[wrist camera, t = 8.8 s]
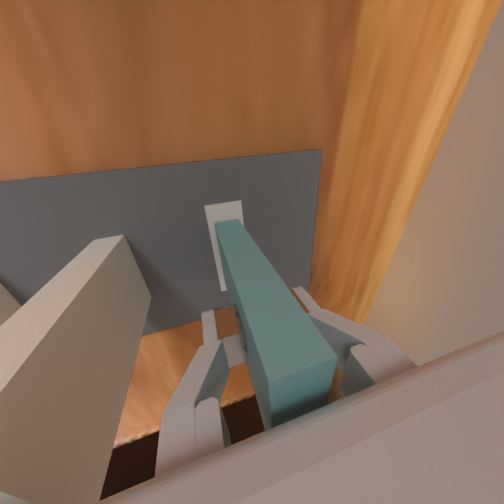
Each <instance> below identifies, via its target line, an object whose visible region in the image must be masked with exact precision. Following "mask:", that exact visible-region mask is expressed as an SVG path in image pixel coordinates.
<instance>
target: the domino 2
mask: <svg viewBox="0 0 504 504" xmlns="http://www.w3.org/2000/svg"><path fill="white" fill-rule="evenodd" d="M214 226H215V231H216V236H217V242H218V247H219V253H220V258H221V263H222V269H223V274H224V279H225V284H226V288H227V292H228V296H229V299H230V303H231V304H235V303H236V305H237V308H238V312H239V317H240V318H241V321H242V324H243V327H244V331H245V336H246V342H247V344H246V347H247V350H248V357H249V361H248V362H247V365H248V369H249V373H250V377H251V380H252V384H253V388H254V391H255V395H256V399H257V402H258V406H259V409H260V413H261V417H262V421H263V424H264V428H265V431H266V430H269V429H271V428H273V427H276V426H278V425H281V424H283V423H285V422H288V421H290V420H292V419H295V418H297V417H299V416H302V415H304V414H307V413H309V412H311V411H314V410H316V409H318V408H321V407H323V406H326V405H327V400H328V396H329V391H330V388H331V383H332V379H333V375H334V371H335V366H336V362H337V358H338V356H337V355H336V354H335V352H334V351H333V349H332V348H331V347H330V345H329V344H328V342H327V341H326V340H325V338H324V337H323V336H322V334H321V333H320V331H319V330H318V329H317V327H316V326H315V324H314V323H313V322H312V320H311V319H310V318H309V316H308V315H307V313H306V312H305V311H304V309H303V308H302V307H301V305H300V304H299V302H298V301H297V300H296V298H295V297H294V295H293V294H292V293H291V291H290V290H289V289H288V287H287V286H286V284H285V283H284V282H283V280H282V279H281V277H280V276H279V275H278V273H277V272H276V271H275V269H274V268H273V266H272V265H271V264H270V262H269V261H268V259H267V258H266V257H265V255H264V254H263V253H262V251H261V250H260V248H259V247H258V246H257V244H256V243H255V241H254V240H253V239H252V237H251V236H250V235H249V233H248V232H247V230H246V229H245V228H244V226H243V225H242V224H241V222H240V221H239V219H233V220H227V221H221V222H216V223H214Z"/></svg>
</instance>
